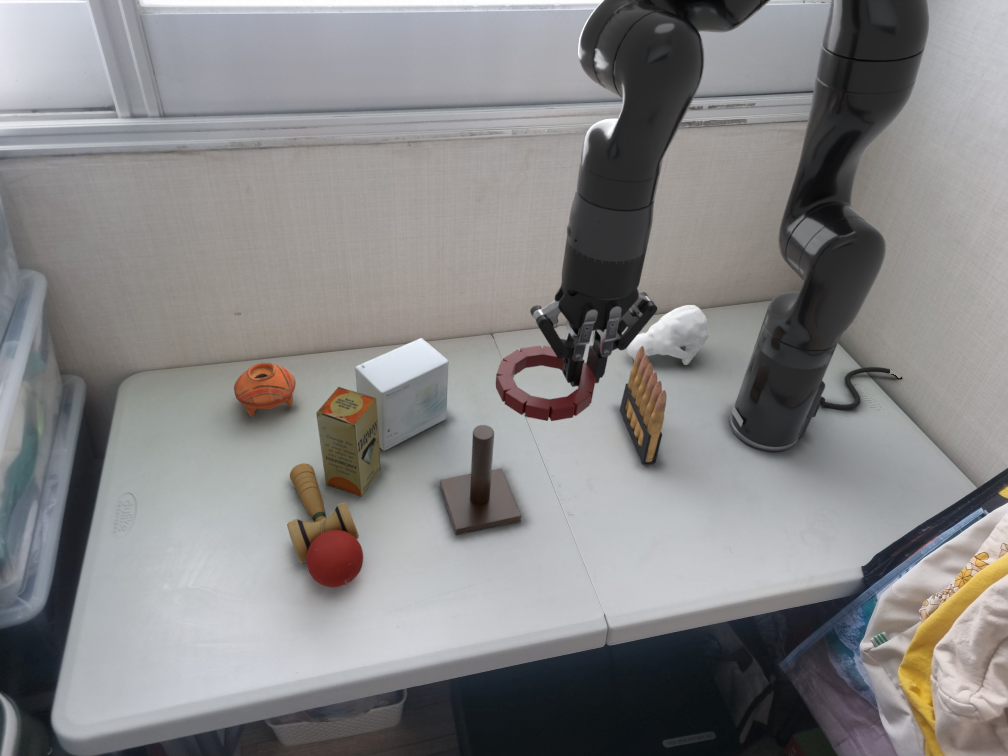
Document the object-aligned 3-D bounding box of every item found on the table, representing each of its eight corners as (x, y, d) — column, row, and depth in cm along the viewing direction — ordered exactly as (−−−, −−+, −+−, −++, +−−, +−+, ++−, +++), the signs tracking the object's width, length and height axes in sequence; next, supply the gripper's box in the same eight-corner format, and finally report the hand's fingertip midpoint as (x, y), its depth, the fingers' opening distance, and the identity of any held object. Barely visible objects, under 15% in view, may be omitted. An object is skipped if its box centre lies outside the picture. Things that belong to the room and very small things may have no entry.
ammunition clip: (655, 463, 100) (674, 394, 93) (642, 464, 100) (659, 396, 92) (631, 408, 108) (647, 341, 101) (619, 409, 108) (633, 342, 100)
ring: (571, 351, 86) (573, 340, 85) (608, 411, 79) (610, 400, 78) (484, 364, 83) (485, 353, 82) (514, 427, 76) (515, 416, 75)
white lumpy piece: (716, 317, 111) (639, 334, 109) (707, 362, 117) (634, 378, 115) (696, 293, 116) (622, 308, 114) (689, 338, 121) (618, 353, 119)
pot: (274, 432, 100) (256, 391, 96) (234, 420, 104) (215, 380, 100) (315, 397, 105) (299, 356, 102) (274, 387, 109) (258, 347, 105)
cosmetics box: (385, 453, 99) (381, 392, 92) (357, 426, 102) (352, 365, 96) (449, 419, 104) (450, 359, 98) (421, 394, 108) (420, 335, 101)
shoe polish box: (325, 484, 94) (316, 412, 86) (345, 457, 98) (338, 386, 90) (361, 496, 93) (355, 425, 85) (380, 469, 97) (376, 398, 89)
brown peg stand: (501, 473, 97) (506, 403, 90) (520, 521, 92) (528, 450, 84) (439, 485, 95) (440, 414, 88) (456, 535, 89) (458, 463, 82)
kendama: (266, 501, 93) (303, 606, 80) (267, 458, 90) (305, 560, 77) (329, 491, 97) (374, 590, 83) (332, 450, 94) (379, 545, 80)
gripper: (552, 266, 66) (533, 413, 78) (692, 250, 70) (654, 393, 81) (524, 224, 72) (510, 367, 83) (655, 212, 76) (625, 350, 87)
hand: (582, 379), depth 82 cm, fingers closed on ring, 1 cm apart
